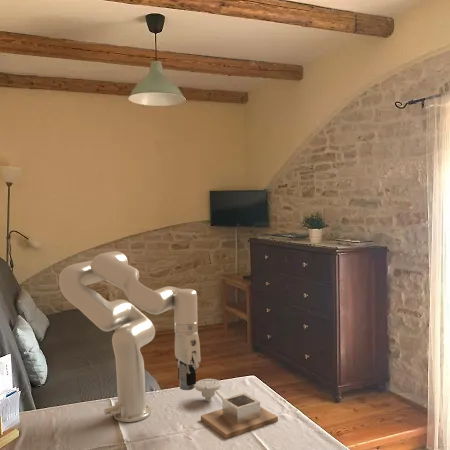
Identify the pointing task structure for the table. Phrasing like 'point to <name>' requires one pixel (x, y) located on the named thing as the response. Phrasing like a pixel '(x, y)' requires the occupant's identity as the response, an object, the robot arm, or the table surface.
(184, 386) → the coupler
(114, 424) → the table surface
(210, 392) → the showerhead
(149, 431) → the table surface
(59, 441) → the table surface
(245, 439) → the table surface
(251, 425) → the board
